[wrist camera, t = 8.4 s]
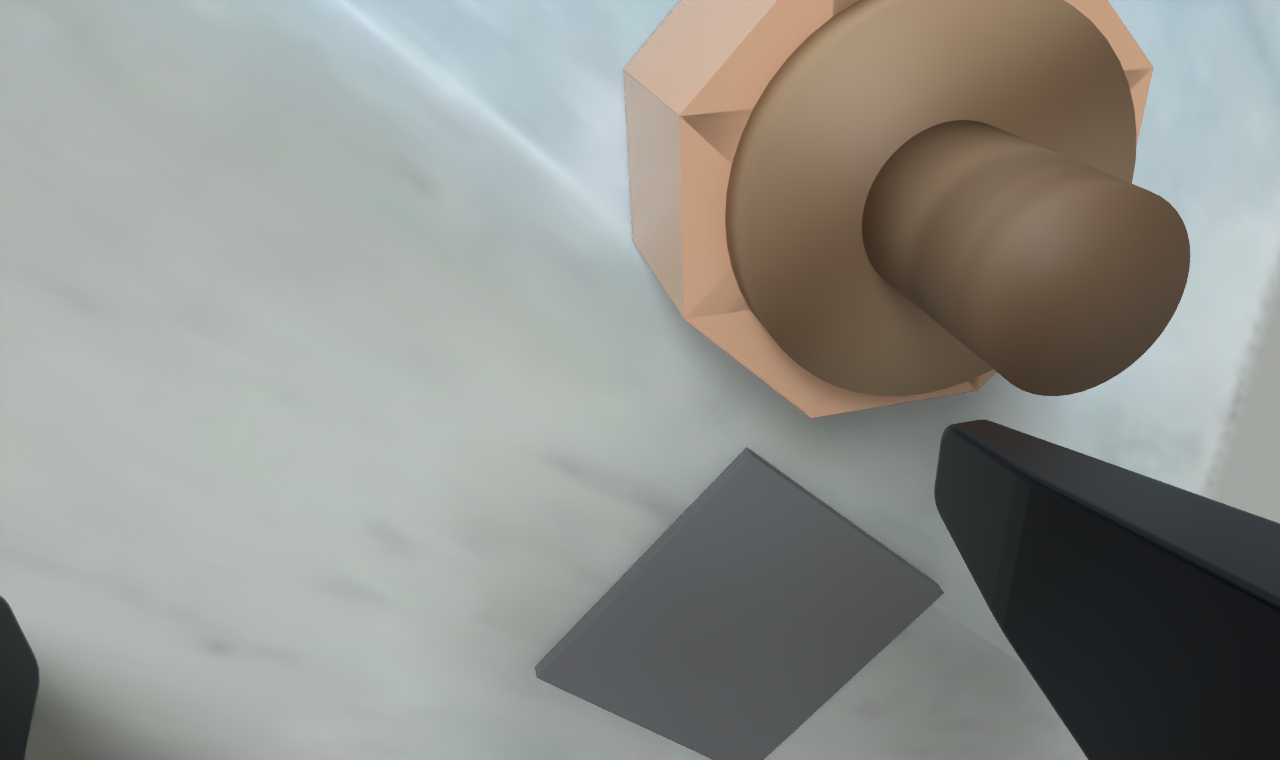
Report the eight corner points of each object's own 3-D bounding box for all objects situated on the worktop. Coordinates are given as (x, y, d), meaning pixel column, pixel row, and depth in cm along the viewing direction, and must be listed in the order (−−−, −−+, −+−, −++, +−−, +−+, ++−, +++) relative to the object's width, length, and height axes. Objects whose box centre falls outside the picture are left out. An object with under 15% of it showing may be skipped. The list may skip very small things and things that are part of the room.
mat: (937, 584, 29) (943, 592, 29) (742, 765, 31) (746, 775, 31) (746, 447, 25) (751, 455, 24) (535, 667, 27) (536, 677, 26)
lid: (1165, 162, 18) (1401, 249, 14) (893, 434, 20) (1028, 585, 16) (951, -132, 15) (1178, -135, 11) (640, 228, 16) (727, 352, 12)
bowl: (1076, 109, 22) (1214, 157, 19) (811, 384, 24) (888, 477, 21) (841, -197, 18) (959, -216, 14) (542, 168, 20) (576, 236, 16)
